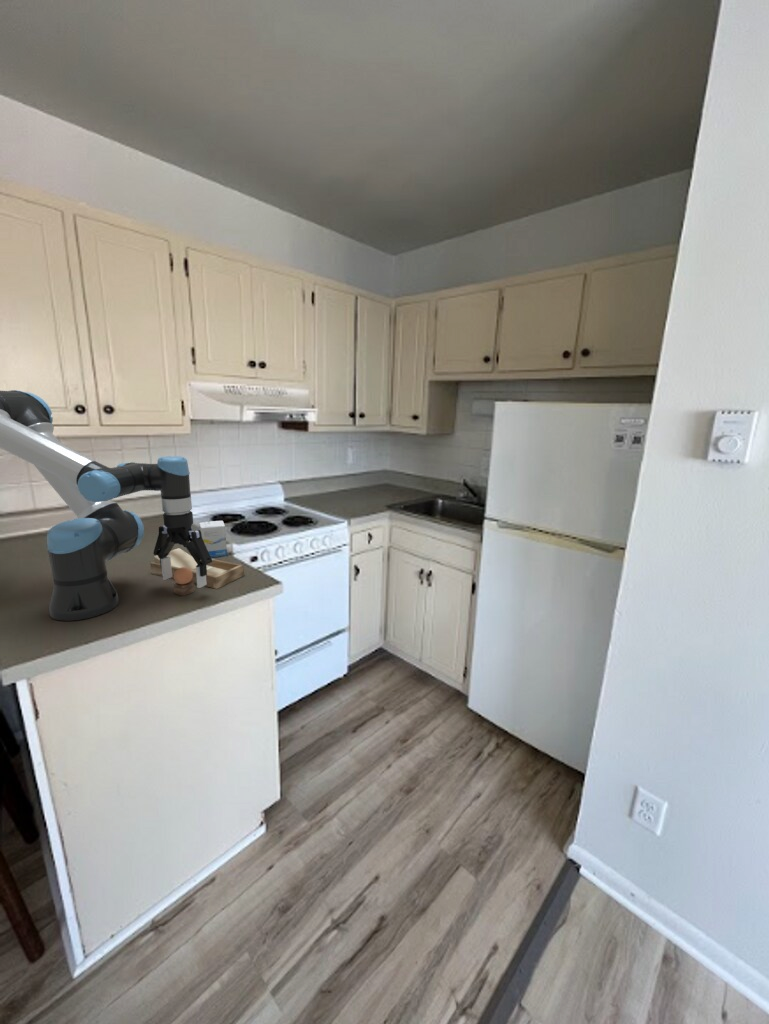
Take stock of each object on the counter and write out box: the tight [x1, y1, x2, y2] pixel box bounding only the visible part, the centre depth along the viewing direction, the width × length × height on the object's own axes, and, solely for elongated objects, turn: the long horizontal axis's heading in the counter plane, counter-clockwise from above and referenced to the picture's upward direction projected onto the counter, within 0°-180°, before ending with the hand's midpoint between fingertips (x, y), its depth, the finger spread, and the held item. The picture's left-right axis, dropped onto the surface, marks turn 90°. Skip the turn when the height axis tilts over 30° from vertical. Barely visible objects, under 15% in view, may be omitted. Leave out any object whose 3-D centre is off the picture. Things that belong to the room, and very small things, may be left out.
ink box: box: [198, 520, 228, 558], centre depth 158 cm, size 9×8×12 cm
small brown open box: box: [173, 581, 195, 597], centre depth 125 cm, size 4×4×3 cm
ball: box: [174, 567, 193, 584], centre depth 125 cm, size 5×5×5 cm
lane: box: [149, 547, 245, 590], centre depth 139 cm, size 12×28×6 cm, turn 67°
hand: (184, 582), depth 125 cm, fingers open, 13 cm apart
